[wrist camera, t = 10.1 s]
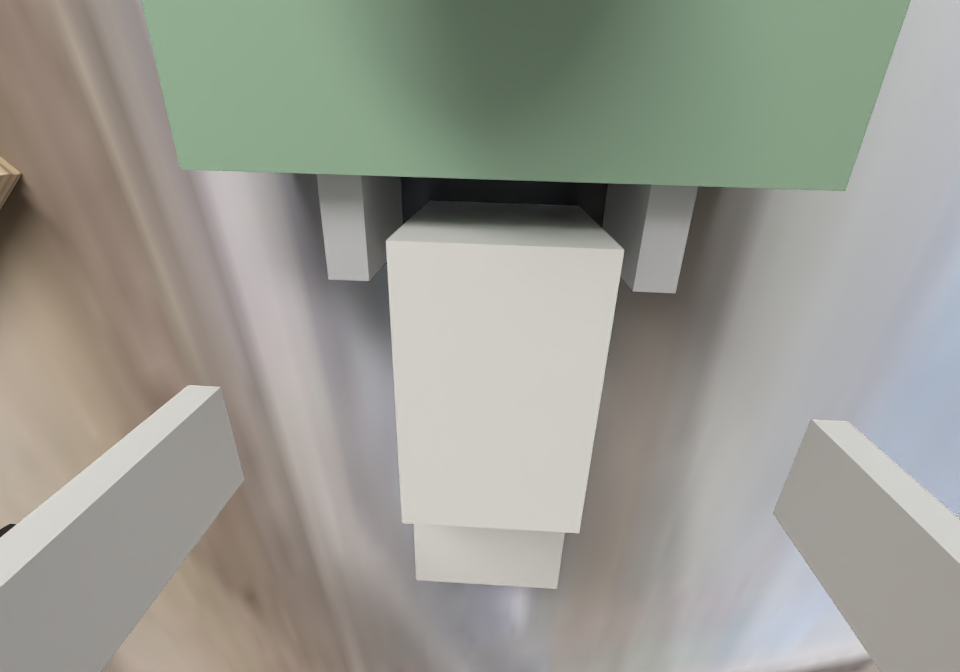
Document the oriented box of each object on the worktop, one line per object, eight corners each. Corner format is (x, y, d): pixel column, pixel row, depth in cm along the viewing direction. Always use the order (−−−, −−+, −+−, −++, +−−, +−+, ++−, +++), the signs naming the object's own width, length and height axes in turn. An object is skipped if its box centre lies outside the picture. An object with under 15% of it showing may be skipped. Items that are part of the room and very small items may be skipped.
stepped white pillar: (550, 536, 24) (567, 684, 17) (426, 529, 24) (398, 672, 18) (592, 206, 17) (646, 250, 11) (416, 199, 17) (364, 239, 11)
